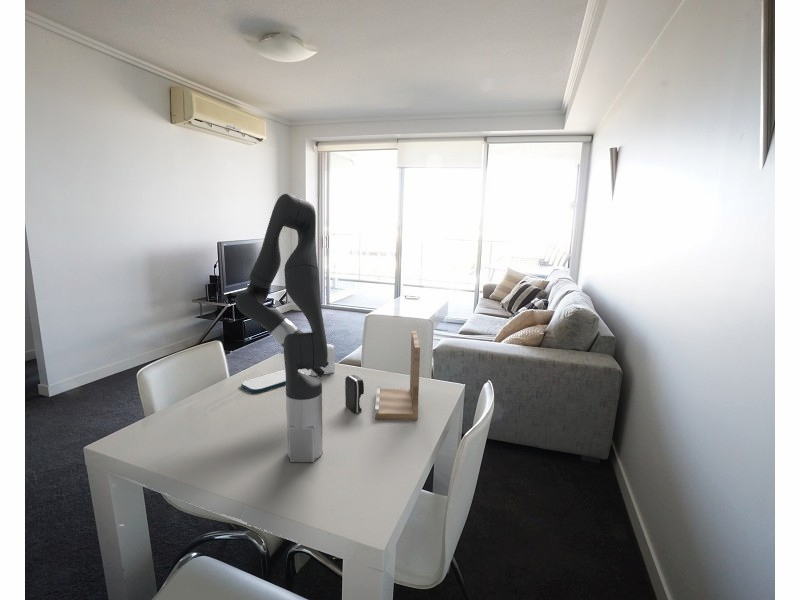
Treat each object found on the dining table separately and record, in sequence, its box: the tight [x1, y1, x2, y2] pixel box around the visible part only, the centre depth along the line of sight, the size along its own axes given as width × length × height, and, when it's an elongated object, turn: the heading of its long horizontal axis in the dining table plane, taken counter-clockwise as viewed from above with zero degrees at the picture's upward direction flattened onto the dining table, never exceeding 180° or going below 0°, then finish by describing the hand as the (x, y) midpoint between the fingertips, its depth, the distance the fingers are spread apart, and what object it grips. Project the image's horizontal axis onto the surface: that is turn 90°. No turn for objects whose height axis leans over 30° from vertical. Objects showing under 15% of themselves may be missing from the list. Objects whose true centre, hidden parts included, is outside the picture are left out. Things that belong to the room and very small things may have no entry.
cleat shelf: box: [374, 330, 421, 421], centre depth 139 cm, size 20×14×24 cm
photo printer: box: [310, 343, 336, 377], centre depth 169 cm, size 10×4×12 cm, turn 123°
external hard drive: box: [240, 368, 306, 394], centre depth 159 cm, size 24×12×2 cm, turn 139°
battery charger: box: [344, 374, 365, 414], centre depth 137 cm, size 7×4×11 cm, turn 37°
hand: (324, 370), depth 135 cm, fingers open, 8 cm apart
